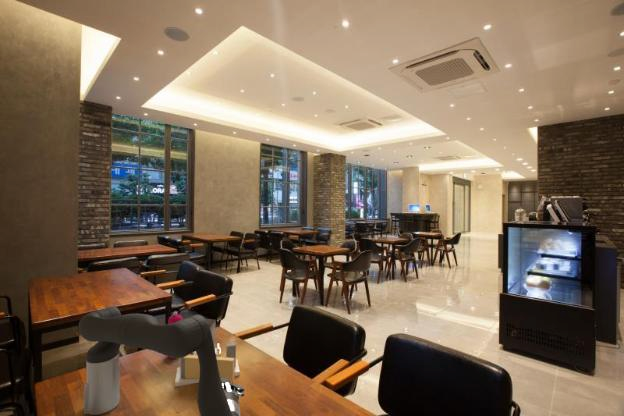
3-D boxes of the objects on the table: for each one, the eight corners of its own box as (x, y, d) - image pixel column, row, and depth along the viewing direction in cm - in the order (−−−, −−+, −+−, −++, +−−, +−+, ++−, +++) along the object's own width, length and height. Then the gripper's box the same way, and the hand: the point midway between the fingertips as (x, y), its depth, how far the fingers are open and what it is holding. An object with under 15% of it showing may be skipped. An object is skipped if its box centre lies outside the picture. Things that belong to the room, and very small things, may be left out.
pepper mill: (167, 352, 140) (167, 309, 139) (184, 350, 142) (184, 308, 141) (165, 360, 133) (165, 315, 132) (182, 358, 135) (183, 313, 134)
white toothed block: (192, 372, 121) (192, 352, 121) (192, 365, 126) (193, 346, 126) (221, 367, 125) (221, 348, 125) (220, 361, 130) (220, 342, 130)
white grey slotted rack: (174, 386, 114) (175, 359, 114) (177, 371, 125) (177, 345, 124) (239, 375, 122) (239, 349, 122) (236, 361, 133) (237, 337, 132)
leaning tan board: (179, 377, 117) (179, 357, 117) (182, 374, 120) (182, 354, 119) (232, 381, 115) (232, 361, 115) (234, 377, 118) (234, 357, 117)
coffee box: (190, 359, 134) (190, 323, 133) (196, 352, 140) (197, 318, 140) (209, 360, 133) (210, 324, 132) (215, 353, 139) (216, 319, 139)
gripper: (249, 396, 93) (242, 366, 110) (203, 405, 89) (204, 372, 105) (249, 419, 93) (242, 386, 110) (203, 430, 89) (203, 394, 105)
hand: (223, 380), depth 107 cm, fingers closed
